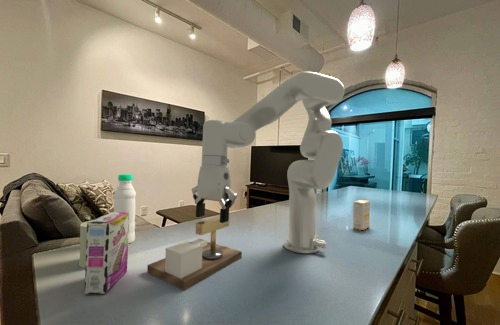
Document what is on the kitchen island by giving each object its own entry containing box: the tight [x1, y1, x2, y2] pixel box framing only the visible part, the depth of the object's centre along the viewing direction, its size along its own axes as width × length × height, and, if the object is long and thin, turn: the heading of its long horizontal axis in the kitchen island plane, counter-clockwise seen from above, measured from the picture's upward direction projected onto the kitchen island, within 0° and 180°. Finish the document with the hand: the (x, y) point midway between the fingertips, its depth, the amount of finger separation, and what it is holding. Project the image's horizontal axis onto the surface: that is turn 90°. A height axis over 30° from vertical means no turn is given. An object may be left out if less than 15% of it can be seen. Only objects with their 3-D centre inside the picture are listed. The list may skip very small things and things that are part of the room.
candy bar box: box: [84, 211, 129, 295], centre depth 57 cm, size 11×5×16 cm, turn 5°
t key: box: [195, 215, 230, 260], centre depth 70 cm, size 12×6×11 cm, turn 146°
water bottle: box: [113, 173, 137, 245], centre depth 85 cm, size 7×7×25 cm
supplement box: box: [352, 199, 371, 231], centre depth 110 cm, size 8×5×13 cm, turn 133°
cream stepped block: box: [165, 238, 208, 279], centre depth 62 cm, size 6×10×6 cm, turn 146°
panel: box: [146, 241, 243, 291], centre depth 68 cm, size 15×23×2 cm, turn 146°
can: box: [78, 219, 93, 269], centre depth 69 cm, size 9×9×12 cm
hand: (211, 219), depth 69 cm, fingers open, 9 cm apart
